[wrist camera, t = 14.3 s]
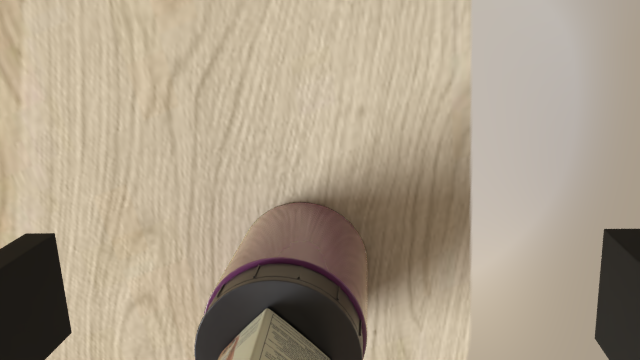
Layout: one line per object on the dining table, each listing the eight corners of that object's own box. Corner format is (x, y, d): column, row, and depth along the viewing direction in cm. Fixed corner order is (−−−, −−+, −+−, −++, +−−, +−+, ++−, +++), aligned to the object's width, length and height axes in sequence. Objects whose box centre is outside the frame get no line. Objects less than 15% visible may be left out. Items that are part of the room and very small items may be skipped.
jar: (367, 202, 44) (367, 273, 32) (367, 322, 47) (366, 431, 35) (237, 201, 45) (186, 269, 33) (243, 319, 48) (198, 424, 35)
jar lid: (363, 264, 34) (362, 282, 31) (362, 408, 36) (362, 434, 34) (200, 261, 35) (188, 278, 32) (210, 402, 37) (200, 427, 35)
